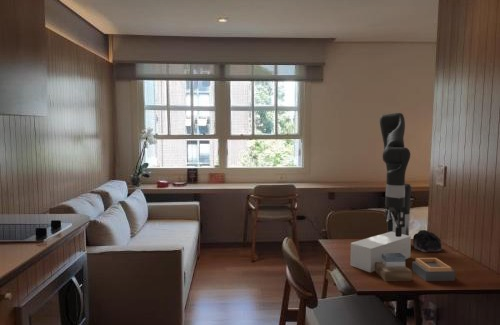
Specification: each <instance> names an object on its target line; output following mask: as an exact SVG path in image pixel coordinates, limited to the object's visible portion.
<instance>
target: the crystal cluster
mask: <svg viewBox="0 0 500 325" xmlns="http://www.w3.org/2000/svg"><path fill="white" fill-rule="evenodd" d="M441 241H442V240H441V239H440V237H439V236H438V235H436V234H435V233H434V232H430V231H428V230H426V229H422V230H421V229H419V231H418V232H417V233H415V234H413V239H412V244H413V248H414V249H415V250H418V251H419V252H420V251H421V252H423V253H432V252H440V251H442V243H441Z"/></svg>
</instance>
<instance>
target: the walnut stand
mask: <svg viewBox="0 0 500 325" xmlns="http://www.w3.org/2000/svg"><path fill="white" fill-rule="evenodd" d="M374 272H375V273H376V274H378V276H379V277H380V278H381V279H382V280H383V281H384V282H412V281H413V271H412V269H410V268H409V267H407V266H406V265H405V269H386V268H384V267H383V266H382V262H375V271H374Z"/></svg>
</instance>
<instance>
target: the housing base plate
mask: <svg viewBox="0 0 500 325" xmlns="http://www.w3.org/2000/svg"><path fill="white" fill-rule="evenodd" d="M382 266H383V267H384V268H386V269H405V266H406V261H405V262H386V261H385V260H383V259H382Z"/></svg>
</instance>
